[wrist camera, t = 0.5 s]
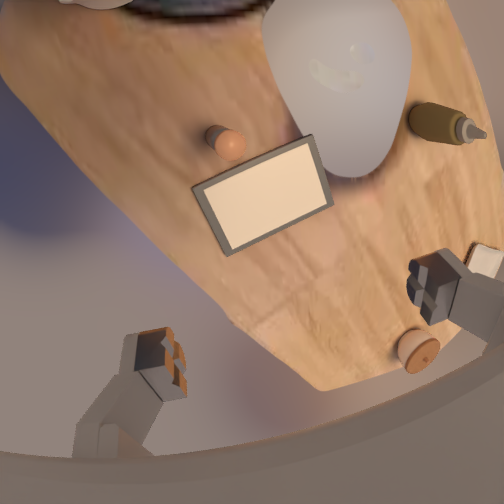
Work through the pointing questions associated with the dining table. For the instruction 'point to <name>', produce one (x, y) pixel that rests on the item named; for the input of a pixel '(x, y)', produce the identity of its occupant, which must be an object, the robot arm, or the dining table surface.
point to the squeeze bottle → (443, 125)
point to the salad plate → (484, 260)
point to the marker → (226, 142)
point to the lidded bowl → (417, 350)
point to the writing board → (265, 194)
